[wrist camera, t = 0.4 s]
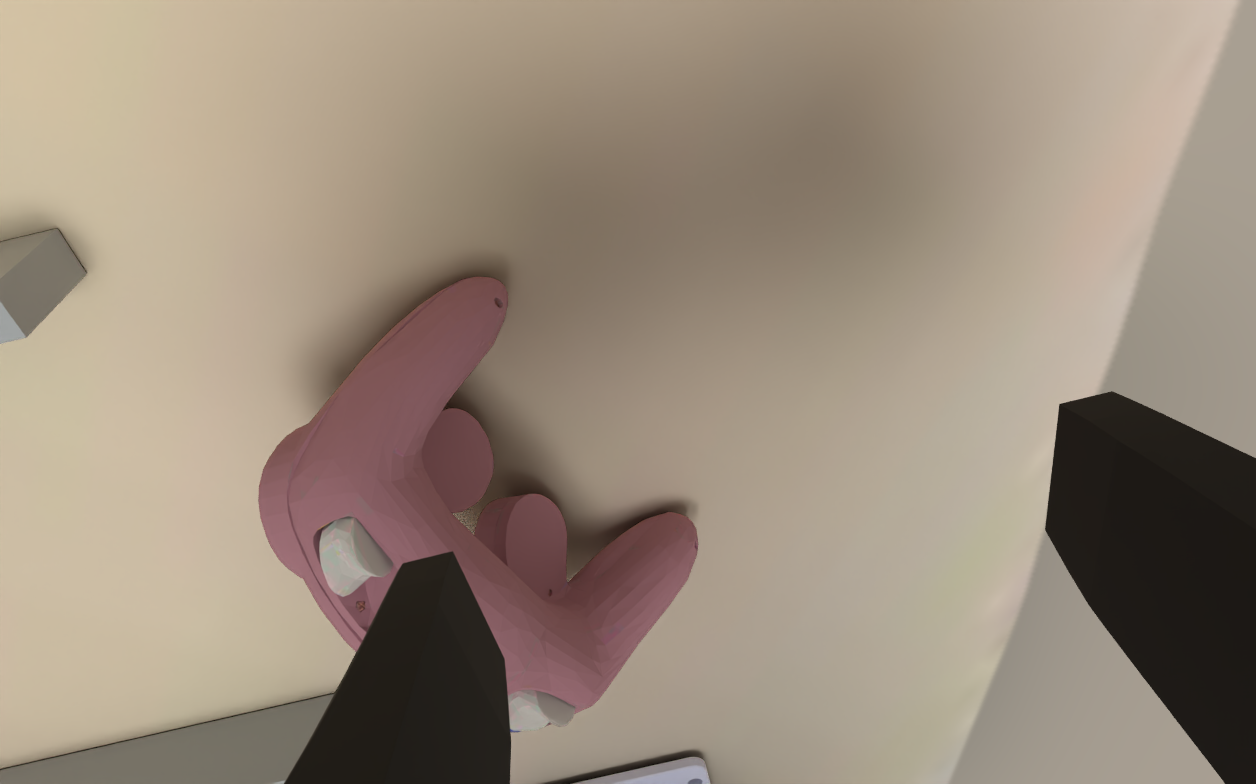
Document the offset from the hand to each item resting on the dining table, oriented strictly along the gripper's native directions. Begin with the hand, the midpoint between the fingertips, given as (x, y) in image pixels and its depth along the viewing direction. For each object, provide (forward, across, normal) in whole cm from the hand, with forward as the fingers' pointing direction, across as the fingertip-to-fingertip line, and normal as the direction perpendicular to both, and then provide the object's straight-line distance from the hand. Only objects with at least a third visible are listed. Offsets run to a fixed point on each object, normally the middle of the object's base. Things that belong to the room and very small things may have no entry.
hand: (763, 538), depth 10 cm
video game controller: (+10, +5, +5) cm, 12 cm away
